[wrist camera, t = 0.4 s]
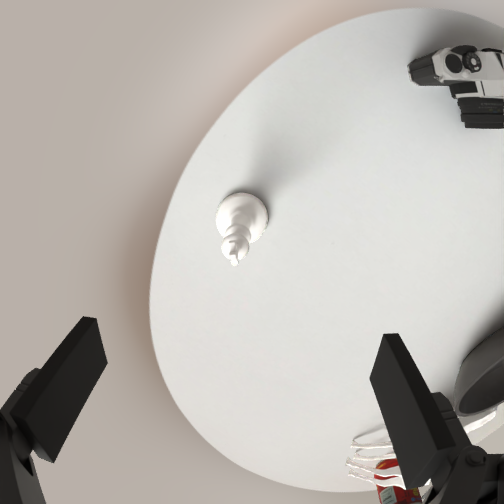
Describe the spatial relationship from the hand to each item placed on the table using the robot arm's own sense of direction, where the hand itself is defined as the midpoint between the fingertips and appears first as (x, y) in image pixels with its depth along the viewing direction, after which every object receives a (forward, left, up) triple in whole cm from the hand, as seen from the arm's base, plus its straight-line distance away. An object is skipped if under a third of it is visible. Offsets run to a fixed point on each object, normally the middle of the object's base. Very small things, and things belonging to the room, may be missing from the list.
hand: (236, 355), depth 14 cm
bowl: (+17, +37, -19) cm, 45 cm away
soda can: (+44, +26, -19) cm, 55 cm away
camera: (-16, +22, -19) cm, 33 cm away
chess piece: (-1, -1, -19) cm, 19 cm away
